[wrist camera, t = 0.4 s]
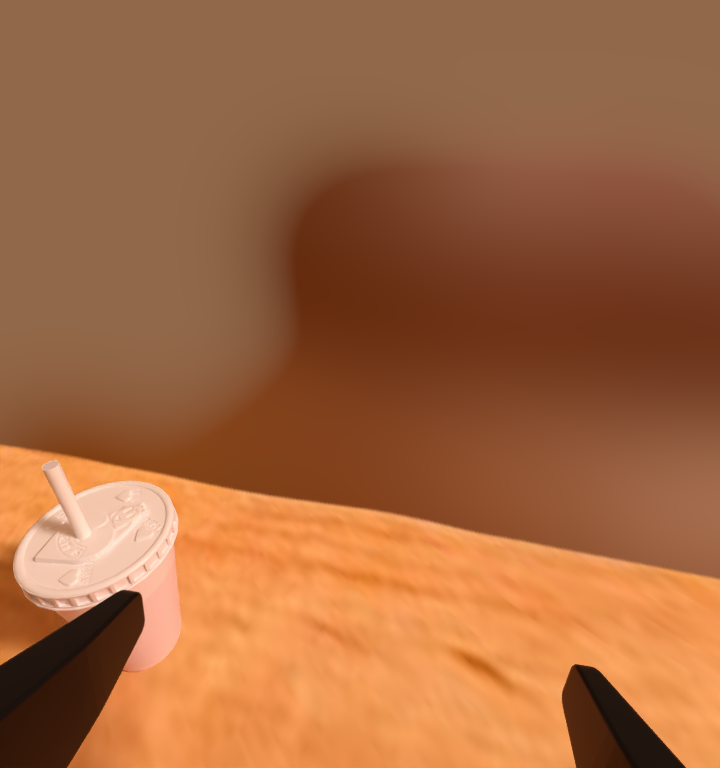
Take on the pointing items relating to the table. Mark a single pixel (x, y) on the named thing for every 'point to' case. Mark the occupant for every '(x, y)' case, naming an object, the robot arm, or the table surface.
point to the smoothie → (106, 557)
